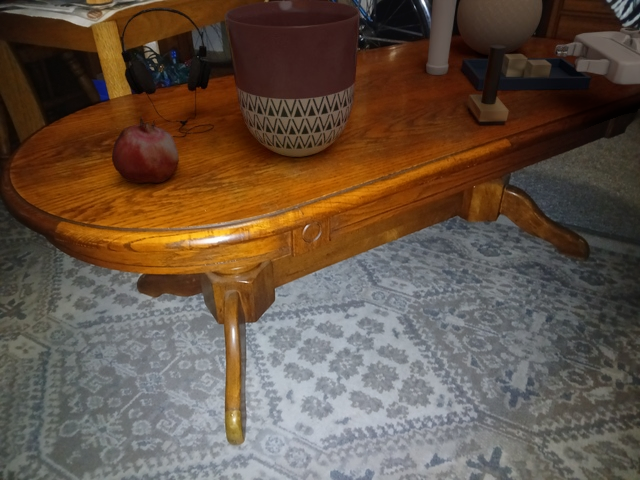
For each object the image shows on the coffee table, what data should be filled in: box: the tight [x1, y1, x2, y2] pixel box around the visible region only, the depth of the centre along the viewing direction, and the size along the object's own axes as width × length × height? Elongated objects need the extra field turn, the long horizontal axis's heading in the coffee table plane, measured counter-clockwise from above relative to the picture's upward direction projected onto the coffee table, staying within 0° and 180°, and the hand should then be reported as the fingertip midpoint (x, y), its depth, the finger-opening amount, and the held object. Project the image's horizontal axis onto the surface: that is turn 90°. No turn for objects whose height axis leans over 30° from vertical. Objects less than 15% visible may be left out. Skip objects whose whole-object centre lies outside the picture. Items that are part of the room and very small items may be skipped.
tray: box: [460, 57, 592, 92], centre depth 115 cm, size 24×16×2 cm, turn 90°
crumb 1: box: [501, 53, 528, 77], centre depth 116 cm, size 4×4×4 cm
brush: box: [467, 45, 510, 126], centre depth 93 cm, size 5×9×13 cm, turn 0°
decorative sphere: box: [456, 0, 543, 56], centre depth 128 cm, size 20×20×20 cm
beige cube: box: [523, 60, 551, 77], centre depth 112 cm, size 4×4×4 cm
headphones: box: [119, 6, 215, 138], centre depth 90 cm, size 15×11×20 cm
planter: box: [224, 0, 361, 158], centre depth 80 cm, size 20×20×21 cm
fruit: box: [111, 116, 180, 184], centre depth 75 cm, size 9×10×10 cm
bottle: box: [425, 0, 457, 76], centre depth 114 cm, size 5×5×25 cm
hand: (565, 57), depth 90 cm, fingers open, 8 cm apart
